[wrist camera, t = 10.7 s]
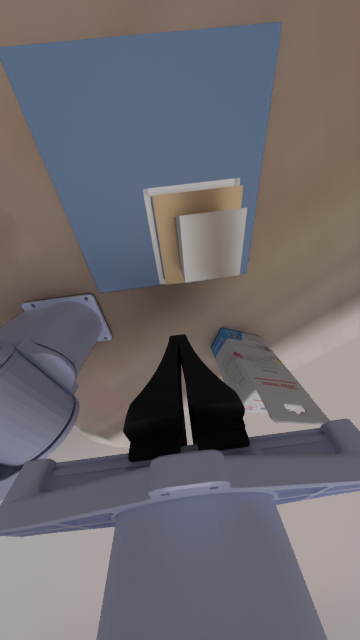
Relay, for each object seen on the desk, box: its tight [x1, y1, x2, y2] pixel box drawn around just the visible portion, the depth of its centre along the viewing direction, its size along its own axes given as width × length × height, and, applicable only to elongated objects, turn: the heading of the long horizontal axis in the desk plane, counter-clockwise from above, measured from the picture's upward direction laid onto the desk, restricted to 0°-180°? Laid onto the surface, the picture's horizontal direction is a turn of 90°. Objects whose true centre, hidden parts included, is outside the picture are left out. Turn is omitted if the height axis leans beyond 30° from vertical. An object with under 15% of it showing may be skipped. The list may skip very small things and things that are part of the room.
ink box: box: [211, 328, 330, 424], centre depth 22 cm, size 8×5×15 cm, turn 72°
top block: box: [174, 208, 247, 283], centre depth 13 cm, size 4×4×5 cm
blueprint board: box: [0, 22, 282, 293], centre depth 16 cm, size 20×18×1 cm
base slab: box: [152, 185, 243, 285], centre depth 17 cm, size 8×8×3 cm
